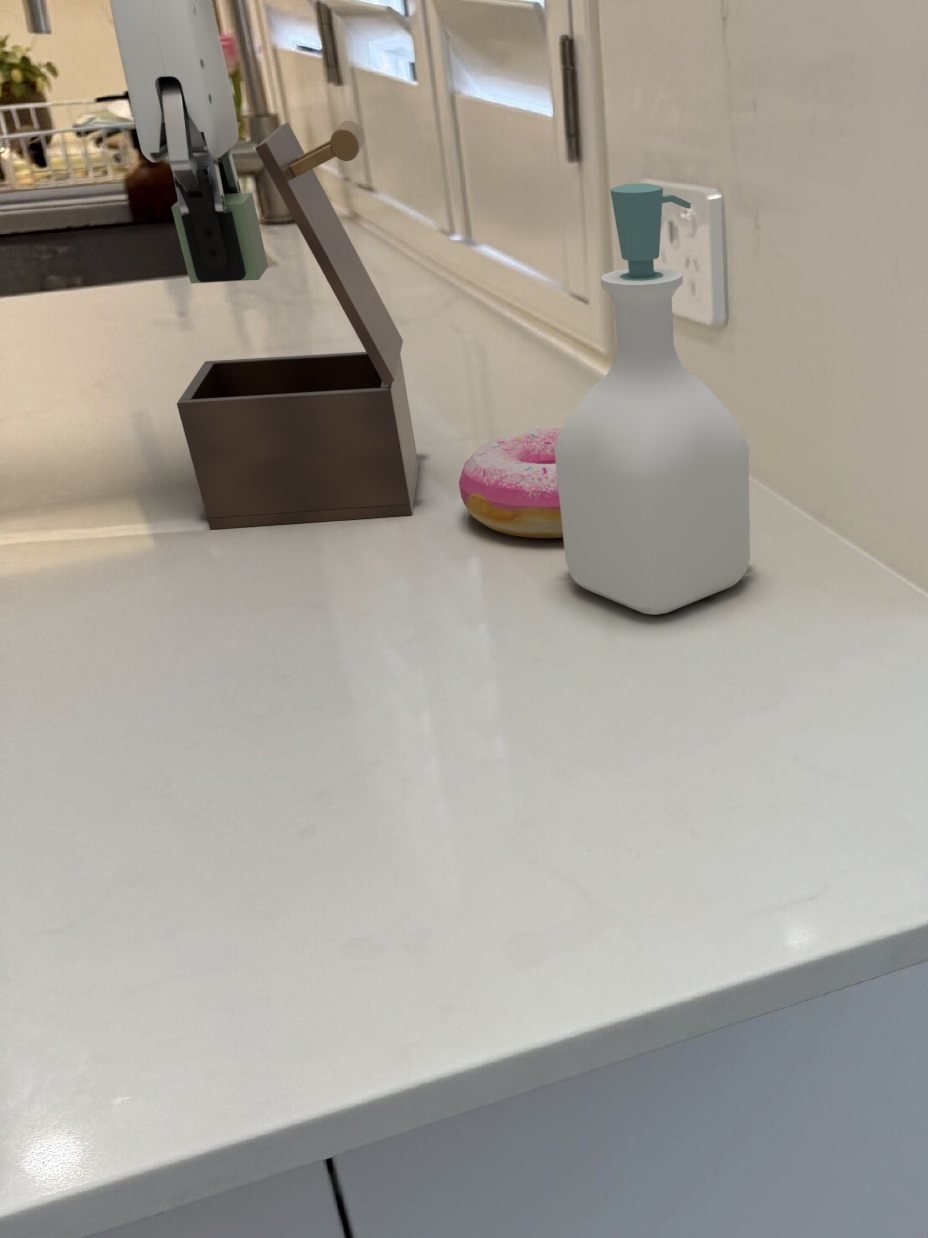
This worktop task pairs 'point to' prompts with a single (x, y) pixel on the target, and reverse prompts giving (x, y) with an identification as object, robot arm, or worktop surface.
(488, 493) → the donut
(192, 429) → the tea box
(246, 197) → the block
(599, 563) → the soap bottle
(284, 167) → the lid
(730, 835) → the worktop surface
